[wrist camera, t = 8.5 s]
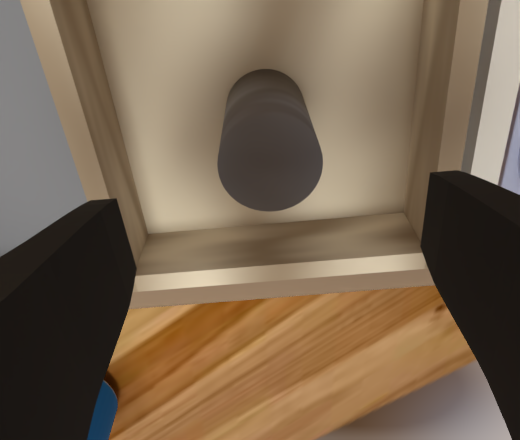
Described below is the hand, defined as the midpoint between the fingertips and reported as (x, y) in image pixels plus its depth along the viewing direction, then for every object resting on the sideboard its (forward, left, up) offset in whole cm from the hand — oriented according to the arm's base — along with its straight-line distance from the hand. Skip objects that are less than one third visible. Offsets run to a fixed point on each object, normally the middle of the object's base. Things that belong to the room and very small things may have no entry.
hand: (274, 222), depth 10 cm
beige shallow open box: (0, 0, -9) cm, 9 cm away
